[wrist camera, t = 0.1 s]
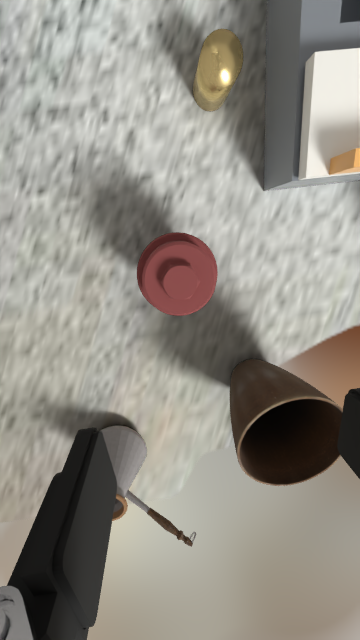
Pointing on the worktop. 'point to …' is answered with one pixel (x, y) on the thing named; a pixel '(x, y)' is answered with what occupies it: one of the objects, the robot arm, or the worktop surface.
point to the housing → (298, 78)
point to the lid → (331, 115)
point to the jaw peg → (217, 69)
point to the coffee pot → (131, 473)
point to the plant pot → (281, 425)
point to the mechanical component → (177, 273)
